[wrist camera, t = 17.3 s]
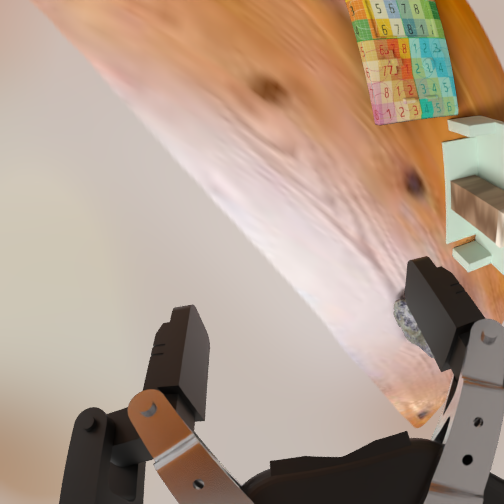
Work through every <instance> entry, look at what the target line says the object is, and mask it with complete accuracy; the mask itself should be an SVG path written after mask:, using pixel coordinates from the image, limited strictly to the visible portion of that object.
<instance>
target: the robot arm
mask: <svg viewBox="0 0 504 504" xmlns="http://www.w3.org/2000/svg"><path fill="white" fill-rule="evenodd" d="M405 299H406V303H407V306H408V308H409V310H410V312H411V314H412V316H413V318H414V319H415V321H416V323H417V325H418V327H419V329H420V331H421V333H422V335H423V336H424V338H425V340H426V342H427V344H428V346H429V348H430V350H431V352H432V354H433V356H434V358H435V360H436V362H437V364H438V366H439V369H440V371H441V372H443V371H446V370H448V369H451V370H452V372H453V377H452V380H451V383H450V387H449V391H448V394H447V398H446V401H445V404H444V408H443V411H442V414H441V417H440V420H439V422H438V425H437V427H436V429H435V431H434V434H433V436H432V439H431V440H428V439H422V438H409V436H408V432H407V431H405V432H402V433H399V434H396V435H392V436H389V437H386V438H382V439H379V440H375V441H373V442H371V443H369V444H368V445H366V446H364V447H362V448H360V449H358V450H356V451H354V452H352V453H350V454H348V455H346V456H343V457H311V456H302V457H296V458H289V459H282V460H276V461H270V469H268V470H265V471H263V472H261V473H259V474H257V475H256V476H254V477H252V478H251V479H249V480H248V481H247V482H245V483H244V484H243V485H241V484H240V483H239V482H238V481H237V480H236V479H235V478H234V477H233V476H232V474H230V472H229V471H228V470H227V469H226V468H225V467H224V466H223V465H222V464H221V463H220V461H219V460H218V459H217V458H216V457H215V456H214V455H213V453H212V452H211V451H210V450H209V449H208V448H207V447H206V445H205V444H204V443H203V442H202V440H201V439H200V438H199V437H198V435H197V434H196V433H195V432H194V425H195V422H196V421H205V409H206V393H207V379H208V365H209V352H210V343H209V337H208V334H207V331H206V329H205V327H204V324H203V322H202V320H201V318H200V316H199V313H198V311H197V309H196V307H195V306H194V305H188V306H182V307H176V308H174V309H173V311H172V315H171V320H170V322H168V323H163V324H162V326H161V327H160V329H159V330H158V332H157V333H156V336H155V340H154V344H153V346H154V347H153V348H152V353H151V357H150V361H149V365H148V370H147V374H146V379H145V383H144V388H143V391H142V392H139V393H138V394H137V395H135V396H134V397H133V398H132V400H131V401H130V403H129V406H128V407H127V408H124V409H122V410H119V411H115V412H112V413H109V414H106V413H105V412H104V411H103V410H101V409H99V408H95V407H93V408H88V409H86V410H84V411H83V412H81V413H80V414H79V416H78V417H77V419H76V421H75V424H74V428H73V432H72V437H71V441H70V446H69V450H68V455H67V461H66V465H65V471H64V476H63V483H62V488H61V494H60V501H59V504H143V496H144V479H145V464H146V461H149V460H152V459H154V460H155V463H154V467H155V469H156V471H157V472H158V474H159V476H160V477H161V479H162V480H163V482H164V483H165V485H166V486H167V487H168V489H169V490H170V492H171V493H172V495H173V496H174V497H175V499H176V500H177V501H178V503H179V504H504V480H503V479H501V478H499V477H498V476H496V475H494V474H492V473H490V470H491V466H492V463H493V459H494V455H495V451H496V448H497V444H498V439H499V435H500V431H501V425H502V421H503V416H504V327H503V326H502V325H501V324H500V323H499V322H497V321H495V320H492V319H485V317H484V316H483V314H482V313H481V312H480V310H479V309H478V307H477V306H476V305H475V303H474V302H473V300H472V299H471V298H470V296H469V295H468V294H467V292H465V289H464V288H463V287H462V285H461V284H459V282H458V280H457V279H456V278H455V276H454V275H453V274H452V273H451V272H449V271H448V270H446V269H445V268H443V267H442V266H441V267H436V266H435V265H434V263H433V262H432V261H431V259H430V258H429V257H427V256H426V257H422V258H418V259H413V260H410V261H408V264H407V275H406V286H405Z"/></svg>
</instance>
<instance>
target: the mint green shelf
mask: <svg viewBox="0 0 504 504" xmlns="http://www.w3.org/2000/svg"><path fill="white" fill-rule="evenodd" d="M448 128H449V131H452V132H456V133H459V134H462V135H465V136H467V137H468V138H462V139H457V140H451V141H446V142H442V149H443V160H444V174H445V193H446V243H447V244H448V243H451V242H454V241H457V240H460V239H463V238H466V237H469V236H472V235H475V234H476V237H475V241H472V242H469V243H467V244H464V245H461V246H458V247H455V248H453V254H452V256H453V257H454V258H455V259H456V260H457V261H458V262H459V263H460V264H461V265H462V266H463V267H464V268H465V269H466V270H467V271H468V272H470V271H473V270H475V269H478V268H480V267H483V266H485V265H488V264H490V263H492V264H493V265H494V266H495V267H496V268H497V269H498V270H499V271H500V272H501V273H502V274H503V275H504V247H502V248H499V247H498V246H497V245H496V244H495V243H494V242H493V241H492V240H490V239H489V238H488V237H487V236H485V235H484V234H483V233H482V232H480V231H479V230H478V229H477V228H475V227H474V226H473V225H471V224H470V223H469V222H468V221H466V220H465V219H464V218H462V217H461V216H460V215H458V214H457V213H456V212H454V211H453V210H451V185H450V181H451V180H455V179H459V178H463V177H468V176H472V175H476V176H478V177H480V178H482V179H484V180H486V181H488V182H489V183H491V184H493V185H495V186H497V187H498V188H500V189H502V190H504V122H502V121H499V120H495V119H491V118H488V117H484V116H480V115H479V116H471V117H464V118H457V119H450V120H448Z"/></svg>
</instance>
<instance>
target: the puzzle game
mask: <svg viewBox="0 0 504 504" xmlns="http://www.w3.org/2000/svg"><path fill="white" fill-rule="evenodd" d="M345 2H346V5H347V8H348V11H349V15H350V18H351V21H352V25H353V28H354V32H355V35H356V39H357V43H358V47H359V50H360V54H361V58H362V63H363V67H364V71H365V75H366V80H367V84H368V89H369V94H370V99H371V104H372V109H373V115H374V120H375V124H376V125H386V124H392V123H398V122H405V121H412V120H419V119H427V118H435V117H444V116H453V115H458V104H457V96H456V90H455V84H454V78H453V72H452V67H451V62H450V57H449V52H448V48H447V44H446V39H445V35H444V31H443V28H442V24H441V20H440V17H439V13H438V10H437V6H436V3H435V0H345Z"/></svg>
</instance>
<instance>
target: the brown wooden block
mask: <svg viewBox="0 0 504 504" xmlns="http://www.w3.org/2000/svg"><path fill="white" fill-rule="evenodd" d="M450 185H451V210H453V211H454V212H456V213H457V214H458V215H460V216H461V217H462V218H464V219H465V220H466V221H468V222H469V223H470V224H471V225H473V226H474V227H475V228H477V229H478V230H479V231H480V232H482V233H483V234H484V235H485V236H487V237H488V238H489V239H490V240H492V241H493V242H494V243H495V244H496V245H497V246H498V247H499V248H502V247H504V190H502V189H500V188H498V187H497V186H495V185H493V184H491V183H489V182H488V181H486V180H484V179H482V178H480V177H478V176H476V175H472V176H468V177H463V178H459V179H455V180H451V181H450Z"/></svg>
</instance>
